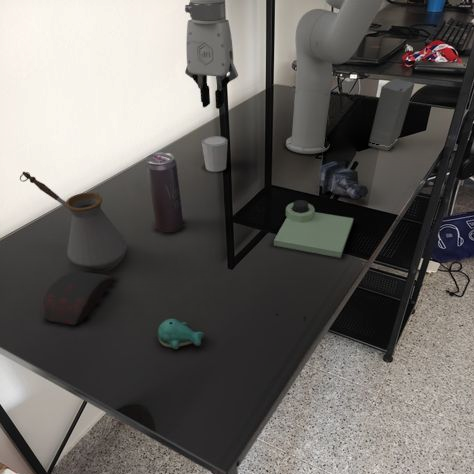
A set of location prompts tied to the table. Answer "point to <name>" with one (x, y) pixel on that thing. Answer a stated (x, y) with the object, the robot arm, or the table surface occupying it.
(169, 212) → the beverage can
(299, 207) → the button
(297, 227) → the scale
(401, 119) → the cosmetic box
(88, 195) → the coffee pot
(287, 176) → the table surface
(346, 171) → the dark statue fragment
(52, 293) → the computer mouse
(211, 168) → the grey cup
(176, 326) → the whale figurine
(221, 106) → the robot arm
